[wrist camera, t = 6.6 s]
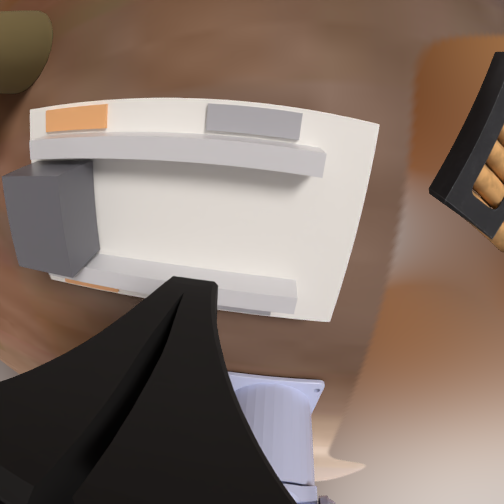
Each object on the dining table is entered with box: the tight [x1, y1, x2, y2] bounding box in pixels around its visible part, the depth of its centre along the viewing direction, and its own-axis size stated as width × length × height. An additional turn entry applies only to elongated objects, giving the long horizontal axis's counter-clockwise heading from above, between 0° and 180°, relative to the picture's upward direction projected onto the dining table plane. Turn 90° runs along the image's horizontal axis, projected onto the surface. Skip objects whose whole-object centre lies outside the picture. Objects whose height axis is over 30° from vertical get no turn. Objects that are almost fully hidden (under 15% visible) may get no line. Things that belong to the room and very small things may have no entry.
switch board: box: [29, 98, 379, 322], centre depth 15 cm, size 11×18×4 cm, turn 84°
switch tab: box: [2, 160, 100, 278], centre depth 13 cm, size 5×4×3 cm
